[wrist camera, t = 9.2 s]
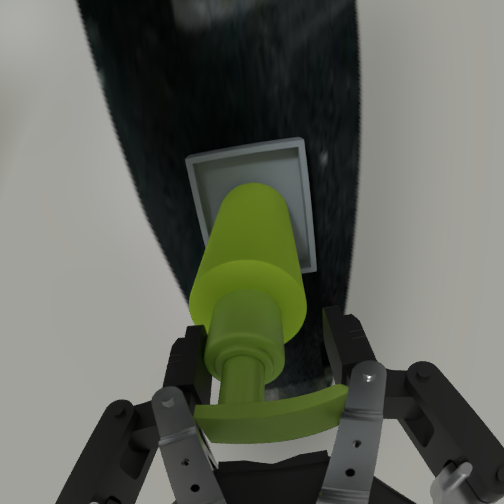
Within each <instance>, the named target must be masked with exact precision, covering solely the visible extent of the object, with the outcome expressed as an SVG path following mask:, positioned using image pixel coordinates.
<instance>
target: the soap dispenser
mask: <svg viewBox="0 0 504 504" xmlns="http://www.w3.org/2000/svg"><path fill="white" fill-rule="evenodd" d="M189 310H190V314H191V318H192V320H193V322H194V324H195V325H204V326H205V328H206V332H207V335H208V337H207V341H206V346H205V352H204V362H205V365H206V368H207V370H208V371H209V373H210V374H211V375H212V376H213V377H214V378H216V379H217V380H219V381H220V382H221V385H220V393H219V400H218V405H195V410H194V416H193V418H194V419H195V421H196V422H197V424H198V425H199V426H200V428H201V429H202V431H203V432H204V433H205V435H206V436H207V437H208V439H209V440H210V441H211V442H212V443H226V444H227V443H228V444H254V443H255V444H257V443H271V442H281V441H288V440H293V439H298V438H303V437H307V436H310V435H314V434H317V433H320V432H323V431H326V430H328V429H331V428H333V427H336V426H338V425H339V423H340V419H341V415H342V412H343V411H344V407H345V403H346V398H347V393H348V388H349V387H348V386H345V385H343V384H336V385H333V386H331V387H328V388H325V389H322V390H320V391H317V392H314V393H310V394H307V395H303V396H298V397H294V398H288V399H282V400H275V401H265V402H264V385H265V384H267V383H269V382H271V381H273V380H274V379H275V378H277V377H278V376H279V375H280V373H281V372H282V370H283V368H284V363H285V352H284V344H285V343H286V342H288V341H289V340H290V339H291V338H293V337H294V336H295V335H296V333H297V332H298V331H299V330H300V328H301V326H302V325H303V322H304V320H305V317H306V311H307V304H306V297H305V292H304V286H303V281H302V276H301V271H300V265H299V260H298V255H297V250H296V245H295V240H294V235H293V230H292V226H291V221H290V216H289V211H288V207H287V204H286V202H285V200H284V198H283V197H282V196H281V194H280V193H279V192H278V191H276V190H275V189H274V188H272V187H270V186H268V185H265V184H262V183H246V184H242V185H240V186H237V187H236V188H234V189H233V190H231V191H230V192H229V193H228V194H227V195H226V197H225V198H224V200H223V201H222V204H221V206H220V209H219V212H218V215H217V218H216V221H215V223H214V226H213V229H212V232H211V235H210V238H209V241H208V243H207V246H206V249H205V252H204V255H203V258H202V261H201V264H200V267H199V270H198V273H197V276H196V279H195V282H194V285H193V288H192V291H191V294H190V299H189Z"/></svg>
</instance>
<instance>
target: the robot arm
mask: <svg viewBox="0 0 504 504" xmlns="http://www.w3.org/2000/svg"><path fill="white" fill-rule="evenodd" d="M322 314H323V337H324V343H325V347H326V351H327V354H328V358H329V362H330V365H331V369H332V372H333V376H334V380H335V384H343V385H345V386H348V387H349V388H348V393H347V398H346V403H345V407H344V411H343V412H342V415H341V419H340V423H339V427H338V431H337V435H336V439H335V444H334V447H333V451H332V454H331V456H330V457H329V456H328V453H327V450H324V451H318V452H312V453H306V454H300V455H297V456H295V457H292V458H289V459H286V460H283V461H280V462H278V463H274V464H267V463H259V462H251V461H227V462H219V464H217V463H216V461H215V458H214V456H213V454H212V452H211V449H210V447H209V445H208V442H207V440H206V438H205V435H204V433H203V431H202V429H201V428H200V426H199V425H198V424H197V422H196V421H195V419H194V418H193V416H194V410H195V405H210V397H211V385H212V375H211V374H210V373H209V371H208V370H207V368H206V365H205V362H204V352H205V346H206V341H207V337H208V335H207V332H206V328H205V326H204V325H194V326H188V327H187V329H186V334H185V338H178V339H177V340H176V341H175V343H174V344H173V345H172V348H171V352H170V357H169V361H168V365H167V369H166V374H165V378H164V382H163V387H162V388H161V389H159V390H158V391H157V392H156V393H155V394H154V395H153V397H152V400H151V401H148V402H145V403H142V404H139V405H135V406H133V405H132V403H131V402H130V401H128V400H117V401H114V402H112V403H111V404H110V405H109V406H108V407H107V408H106V410H105V411H104V413H103V415H102V417H101V419H100V420H99V422H98V424H97V426H96V428H95V429H94V431H93V433H92V435H91V437H90V438H89V440H88V442H87V444H86V446H85V448H84V449H83V451H82V453H81V455H80V457H79V459H78V461H77V463H76V464H75V466H74V468H73V470H72V472H71V474H70V476H69V478H68V480H67V482H66V484H65V485H64V488H63V489H62V491H61V493H60V495H59V497H58V499H57V501H56V503H55V504H135V502H136V500H137V497H138V495H139V492H140V490H141V487H142V485H143V483H144V480H145V478H146V475H147V473H148V470H149V468H150V466H151V463H152V461H153V458H154V456H155V454H156V451H157V449H158V447H159V448H160V451H161V455H162V458H163V461H164V465H165V468H166V471H167V474H168V477H169V481H170V483H171V487H172V490H173V493H174V496H175V498H176V500H175V502H173V503H172V504H416V503H415V502H413V501H411V500H410V499H408V498H407V497H405V496H404V495H402V494H400V493H399V492H397V491H395V490H394V489H393V488H391V487H390V486H388V485H386V484H385V483H384V482H382V481H381V480H379V479H377V478H376V477H375V476H374V470H375V465H376V460H377V454H378V449H379V443H380V436H381V429H382V422H383V419H397V420H398V421H399V423H400V424H401V426H402V427H403V429H404V430H405V432H406V433H407V434H408V436H409V438H410V439H411V440H412V442H413V444H414V445H415V447H416V448H417V450H418V451H419V453H420V455H421V456H422V458H423V459H424V461H425V462H426V464H427V465H428V467H429V468H430V470H431V471H432V473H433V474H434V476H435V480H434V481H433V483H432V485H431V488H430V493H431V497H432V499H433V504H494V503H495V502H497V501H498V500H499V499H501V498H502V497H503V496H504V448H503V446H502V445H501V444H500V442H499V441H498V440H497V439H496V437H495V436H494V435H493V434H492V432H491V431H490V430H489V428H488V427H487V426H486V425H485V423H484V422H483V421H482V420H481V419H480V417H479V416H478V415H477V414H476V413H475V411H474V410H473V409H472V408H471V407H470V405H469V404H468V403H467V402H466V401H465V399H464V398H463V397H462V396H461V395H460V393H459V392H458V391H457V390H456V389H455V388H454V386H453V385H452V384H451V383H450V382H449V380H448V379H447V378H446V377H445V376H444V375H443V374H442V372H441V371H440V370H439V369H438V368H437V367H436V366H435V365H434V364H432V363H430V362H426V361H420V362H416V363H414V364H412V365H411V366H410V367H409V368H408V370H407V371H401V370H389V369H386V368H385V367H384V366H383V365H382V364H381V363H379V362H377V360H376V358H375V355H374V353H373V351H372V349H371V346H370V344H369V341H368V339H367V337H366V335H365V332H364V330H363V328H362V325H361V323H360V321H359V320H358V319H357V318H356V317H354V316H353V315H352V314H349V315H344V316H343V314H342V311H341V309H340V306H339V305H336V306H330V307H324V308H323V309H322Z"/></svg>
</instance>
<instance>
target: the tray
mask: <svg viewBox="0 0 504 504" xmlns="http://www.w3.org/2000/svg"><path fill="white" fill-rule="evenodd" d="M185 162H186V166H187V171H188V175H189V180H190V184H191V189H192V193H193V198H194V202H195V206H196V211H197V215H198V219H199V223H200V227H201V232H202V236H203V240H204V244H205V248H206V246H207V243H208V241H209V238H210V235H211V232H212V229H213V226H214V223H215V221H216V218H217V215H218V212H219V209H220V206H221V204H222V201H223V200H224V198H225V197H226V195H227V194H228V193H229V192H230V191H231V190H233V189H234V188H236V187H237V186H240V185H242V184H246V183H262V184H265V185H268V186H270V187H272V188H274V189H275V190H276V191H278V192H279V193H280V194H281V196H282V197H283V198H284V200H285V202H286V204H287V207H288V211H289V216H290V221H291V226H292V230H293V235H294V240H295V245H296V250H297V255H298V260H299V265H300V271H301V274H303V273H309V272H315V271H317V267H316V253H315V241H314V229H313V218H312V207H311V197H310V187H309V178H308V169H307V161H306V152H305V144H304V139H302V138H301V137H295V138H287V139H279V140H272V141H265V142H258V143H252V144H246V145H240V146H234V147H228V148H222V149H217V150H212V151H206V152H201V153H196V154H191V155H189V156H188V157H187V158H186V159H185Z"/></svg>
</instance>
